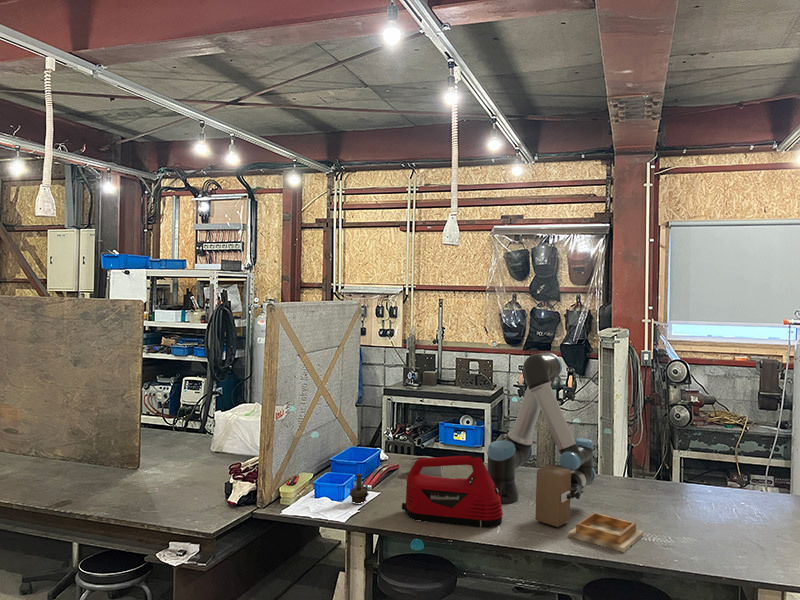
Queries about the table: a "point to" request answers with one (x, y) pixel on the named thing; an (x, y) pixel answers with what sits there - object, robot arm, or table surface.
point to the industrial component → (359, 491)
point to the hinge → (428, 468)
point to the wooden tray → (606, 532)
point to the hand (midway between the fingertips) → (548, 495)
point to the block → (552, 495)
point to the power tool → (453, 494)
